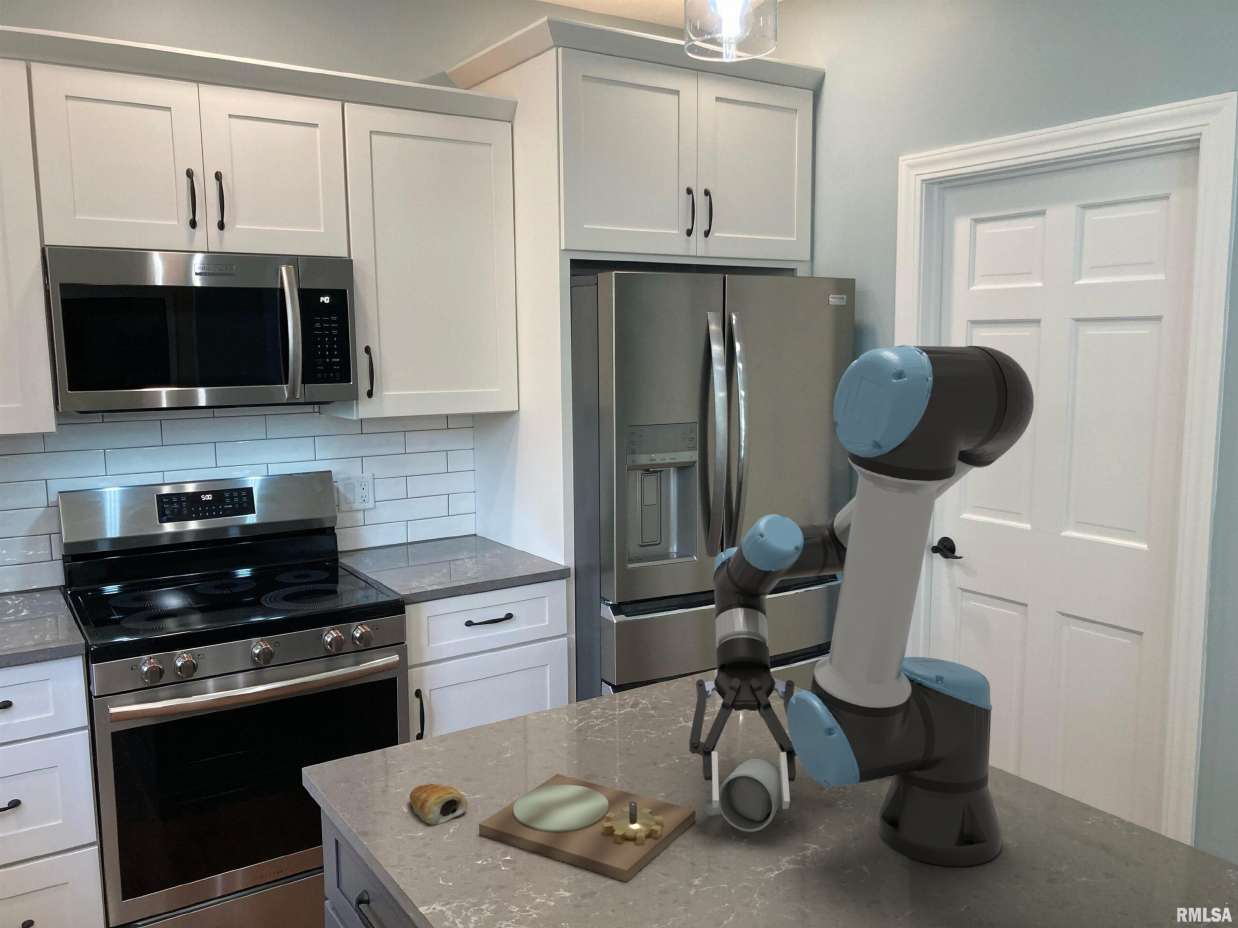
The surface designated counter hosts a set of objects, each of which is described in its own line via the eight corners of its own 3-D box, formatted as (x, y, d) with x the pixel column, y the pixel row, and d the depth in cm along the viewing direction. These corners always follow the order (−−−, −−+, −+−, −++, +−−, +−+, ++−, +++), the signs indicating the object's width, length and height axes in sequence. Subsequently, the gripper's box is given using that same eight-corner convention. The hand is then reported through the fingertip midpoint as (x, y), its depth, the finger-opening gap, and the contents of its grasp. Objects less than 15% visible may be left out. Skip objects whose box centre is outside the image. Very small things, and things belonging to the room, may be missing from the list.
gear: (674, 824, 126) (674, 798, 125) (644, 850, 119) (643, 823, 118) (623, 810, 130) (622, 784, 129) (590, 834, 123) (590, 808, 123)
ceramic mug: (787, 809, 130) (786, 754, 129) (775, 836, 122) (773, 778, 121) (712, 799, 134) (711, 745, 133) (695, 824, 126) (694, 768, 125)
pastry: (397, 806, 136) (397, 780, 135) (439, 792, 140) (438, 767, 140) (430, 829, 128) (430, 802, 128) (473, 814, 133) (473, 788, 132)
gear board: (695, 820, 130) (695, 806, 129) (627, 881, 114) (626, 866, 114) (557, 783, 142) (557, 770, 142) (479, 834, 126) (478, 820, 126)
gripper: (813, 660, 139) (830, 815, 125) (669, 659, 141) (669, 813, 126) (819, 634, 134) (837, 794, 119) (668, 634, 135) (668, 792, 121)
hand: (750, 804), depth 123 cm, fingers closed on ceramic mug, 8 cm apart
